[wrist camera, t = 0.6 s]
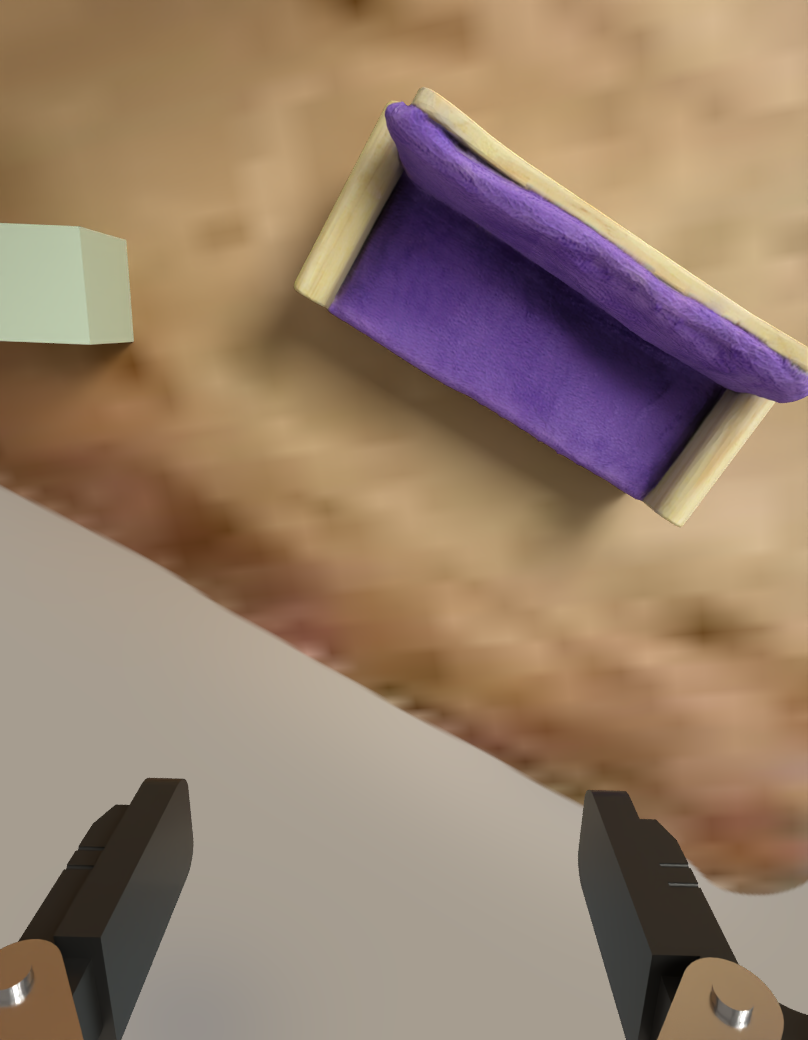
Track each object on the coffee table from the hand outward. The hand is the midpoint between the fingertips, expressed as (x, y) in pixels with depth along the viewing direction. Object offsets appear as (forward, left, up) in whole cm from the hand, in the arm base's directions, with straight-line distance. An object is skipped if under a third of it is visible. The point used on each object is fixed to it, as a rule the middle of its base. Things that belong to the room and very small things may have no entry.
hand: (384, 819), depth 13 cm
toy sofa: (-9, +6, -25) cm, 28 cm away
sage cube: (-10, -17, -25) cm, 32 cm away
